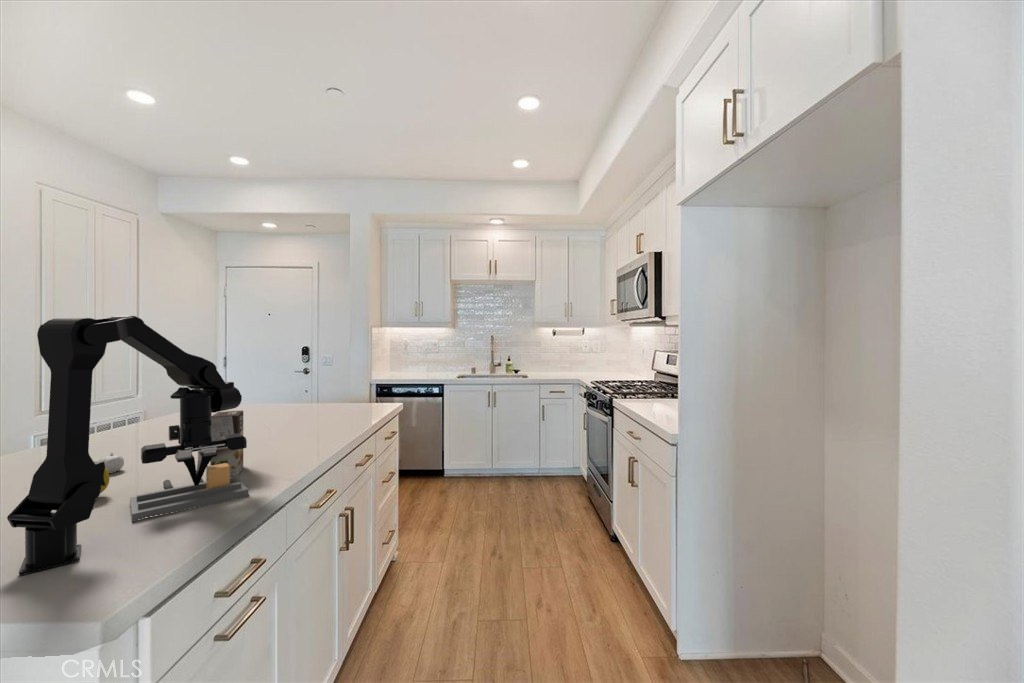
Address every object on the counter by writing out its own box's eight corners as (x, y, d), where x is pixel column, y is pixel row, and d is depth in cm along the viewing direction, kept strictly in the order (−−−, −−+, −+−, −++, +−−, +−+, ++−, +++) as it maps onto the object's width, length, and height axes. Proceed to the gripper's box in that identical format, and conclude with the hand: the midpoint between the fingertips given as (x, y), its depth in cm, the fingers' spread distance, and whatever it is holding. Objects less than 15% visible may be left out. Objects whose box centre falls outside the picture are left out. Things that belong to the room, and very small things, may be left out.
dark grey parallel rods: (206, 489, 102) (206, 483, 102) (167, 497, 97) (167, 491, 97) (199, 478, 110) (199, 473, 110) (162, 485, 105) (162, 479, 105)
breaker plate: (248, 495, 98) (248, 485, 98) (132, 521, 84) (131, 509, 84) (237, 483, 106) (237, 473, 106) (130, 504, 92) (129, 493, 92)
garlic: (105, 470, 117) (105, 451, 117) (129, 468, 119) (129, 449, 119) (91, 476, 111) (91, 457, 111) (116, 474, 113) (116, 455, 113)
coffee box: (238, 475, 112) (238, 415, 112) (209, 479, 109) (209, 417, 109) (244, 466, 120) (243, 409, 120) (217, 469, 118) (216, 411, 118)
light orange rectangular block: (229, 487, 99) (229, 465, 99) (208, 491, 96) (208, 469, 96) (226, 483, 101) (226, 462, 101) (206, 487, 98) (206, 466, 98)
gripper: (236, 407, 108) (236, 468, 108) (139, 416, 95) (139, 486, 95) (247, 413, 100) (247, 479, 100) (142, 424, 87) (142, 499, 87)
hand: (196, 485), depth 96 cm, fingers closed
